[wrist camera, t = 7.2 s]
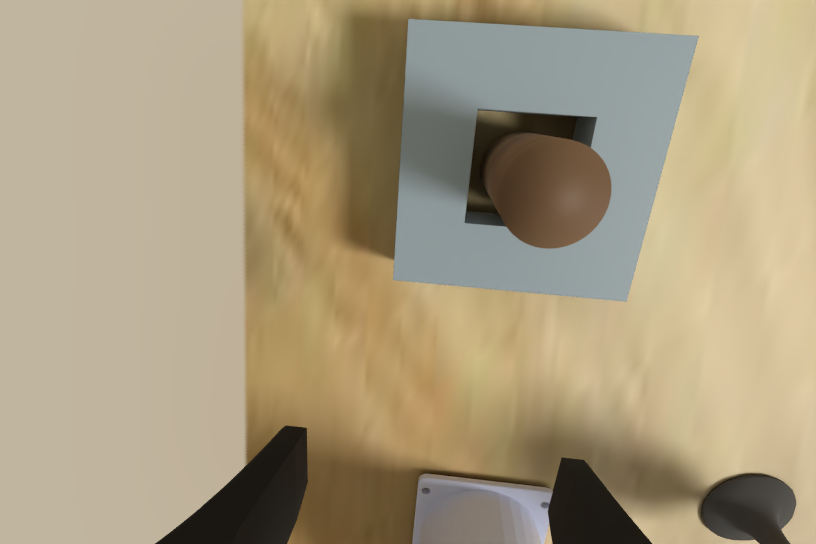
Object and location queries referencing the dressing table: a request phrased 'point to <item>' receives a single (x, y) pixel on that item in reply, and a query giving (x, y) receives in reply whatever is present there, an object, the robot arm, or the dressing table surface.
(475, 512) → the robot arm
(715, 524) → the sundae
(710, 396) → the dressing table surface
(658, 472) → the dressing table surface
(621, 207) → the socket block
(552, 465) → the dressing table surface
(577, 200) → the peg
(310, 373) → the dressing table surface
